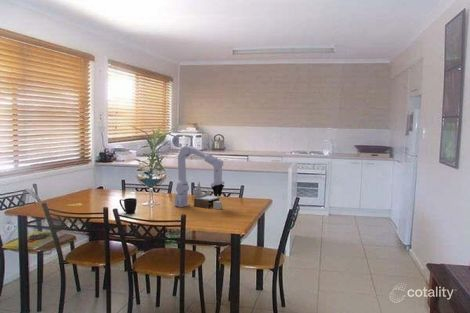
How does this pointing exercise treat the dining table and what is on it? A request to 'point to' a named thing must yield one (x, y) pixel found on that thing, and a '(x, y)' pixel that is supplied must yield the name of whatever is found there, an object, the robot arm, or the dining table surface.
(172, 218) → the dining table surface
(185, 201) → the robot arm
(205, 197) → the trapdoor
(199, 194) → the crystal
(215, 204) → the white block
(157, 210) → the dining table surface
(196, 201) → the frame
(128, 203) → the mug
